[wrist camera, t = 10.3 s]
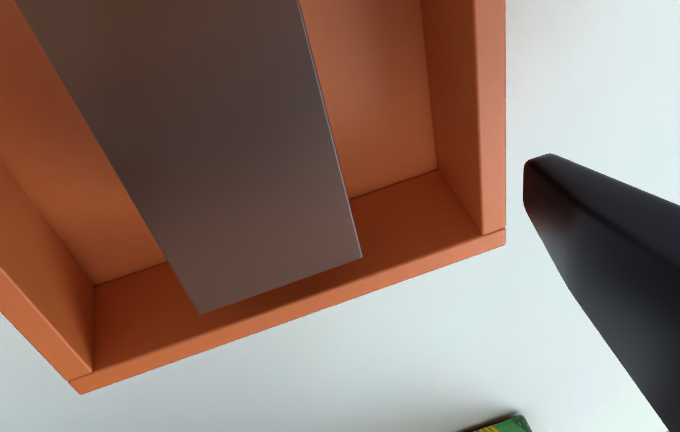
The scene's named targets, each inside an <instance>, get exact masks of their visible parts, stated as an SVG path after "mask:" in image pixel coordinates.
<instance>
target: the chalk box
mask: <svg viewBox="0 0 680 432" xmlns="http://www.w3.org/2000/svg"><path fill="white" fill-rule="evenodd" d="M473 432H532V431H531V429H530V427H529V425H528V423H527V421H526V419H525V418H524V416H523V415H518V416H516V417H513V418H511V419H508V420H506V421H503V422H500V423H497V424H494V425H491V426H488V427H485V428H482V429H479V430H476V431H473Z"/></svg>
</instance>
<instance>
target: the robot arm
mask: <svg viewBox="0 0 680 432" xmlns="http://www.w3.org/2000/svg"><path fill="white" fill-rule="evenodd" d="M523 203H524V207H525V210H526V212H527V214H528V216H529V218H530V220H531V221H532V223H533V225H534V227H535V229H536V231H537V232H538V234H539V236H540V238H541V240H542V242H543V243H544V245H545V247H546V249H547V251H548V253H549V254H550V256H551V258H552V260H553V262H554V264H555V265H556V267H557V269H558V271H559V273H560V275H561V276H562V278H563V280H564V282H565V283H566V285H567V287H568V289H569V290H570V292H571V293H572V295H573V296H574V298H575V299H576V301H577V302H578V303H579V305H580V306H581V308H582V309H583V310H584V312H585V313H586V315H587V316H588V317H589V319H590V320H591V322H592V323H593V324H594V326H595V327H596V329H597V330H598V331H599V333H600V334H601V336H602V337H603V339H604V340H605V341H606V343H607V344H608V346H609V347H610V348H611V350H612V351H613V353H614V354H615V355H616V357H617V358H618V360H619V361H620V362H621V364H622V365H623V367H624V368H625V369H626V371H627V372H628V374H629V375H630V376H631V378H632V379H633V381H634V382H635V384H636V385H637V386H638V388H639V389H640V391H641V392H642V393H643V395H644V396H645V398H646V399H647V400H648V402H649V403H650V405H651V406H652V407H653V409H654V410H655V412H656V413H657V414H658V416H659V417H660V419H661V420H662V422H663V423H664V424H665V426H666V427H667V429H668V430H669V431H670V432H680V206H679V205H677V204H674V203H672V202H670V201H667V200H665V199H662V198H660V197H657V196H655V195H652V194H650V193H648V192H645V191H643V190H640V189H638V188H635V187H633V186H630V185H628V184H626V183H623V182H621V181H618V180H616V179H613V178H611V177H608V176H606V175H604V174H601V173H599V172H596V171H594V170H591V169H589V168H586V167H584V166H582V165H579V164H577V163H574V162H572V161H569V160H567V159H565V158H562V157H560V156H557V155H554V154H545V155H542V156H539V157H536V158H533V159H530V160H528V161H527V162H526V163H525V165H524V174H523Z"/></svg>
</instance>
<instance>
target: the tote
mask: <svg viewBox="0 0 680 432" xmlns="http://www.w3.org/2000/svg"><path fill="white" fill-rule="evenodd" d="M299 2H300V6H301V10H302V14H303V18H304V22H305V26H306V30H307V34H308V38H309V42H310V46H311V50H312V54H313V58H314V62H315V66H316V70H317V74H318V78H319V82H320V86H321V90H322V94H323V98H324V102H325V106H326V110H327V114H328V118H329V122H330V126H331V130H332V134H333V138H334V142H335V146H336V150H337V154H338V158H339V162H340V166H341V170H342V174H343V178H344V182H345V186H346V190H347V194H348V198H349V202H350V206H351V210H352V214H353V218H354V222H355V226H356V231H357V235H358V239H359V243H360V247H361V251H362V255H363V257H362V258H360V259H357V260H354V261H352V262H349V263H346V264H343V265H340V266H337V267H334V268H332V269H329V270H326V271H323V272H320V273H317V274H314V275H312V276H309V277H306V278H303V279H300V280H297V281H294V282H292V283H289V284H286V285H283V286H280V287H277V288H275V289H272V290H269V291H266V292H263V293H260V294H257V295H255V296H252V297H249V298H246V299H243V300H240V301H237V302H235V303H232V304H229V305H226V306H223V307H220V308H217V309H215V310H212V311H209V312H206V313H203V314H198V312H197V310H196V309H195V307H194V305H193V304H192V302H191V300H190V298H189V297H188V295H187V293H186V292H185V290H184V288H183V287H182V285H181V283H180V281H179V280H178V278H177V276H176V275H175V273H174V271H173V270H172V268H171V266H170V264H169V263H168V261H167V259H166V258H165V256H164V254H163V253H162V251H161V249H160V247H159V246H158V244H157V242H156V241H155V239H154V237H153V236H152V234H151V232H150V230H149V229H148V227H147V225H146V224H145V222H144V220H143V219H142V217H141V215H140V213H139V212H138V210H137V208H136V207H135V205H134V203H133V202H132V200H131V198H130V196H129V195H128V193H127V191H126V190H125V188H124V186H123V185H122V183H121V181H120V179H119V178H118V176H117V174H116V173H115V171H114V169H113V168H112V166H111V164H110V162H109V161H108V159H107V157H106V156H105V154H104V152H103V151H102V149H101V147H100V145H99V144H98V142H97V140H96V139H95V137H94V135H93V134H92V132H91V130H90V128H89V127H88V125H87V123H86V122H85V120H84V118H83V116H82V115H81V113H80V111H79V110H78V108H77V106H76V105H75V103H74V101H73V99H72V98H71V96H70V94H69V93H68V91H67V89H66V88H65V86H64V84H63V82H62V81H61V79H60V77H59V76H58V74H57V72H56V71H55V69H54V67H53V65H52V64H51V62H50V60H49V59H48V57H47V55H46V54H45V52H44V50H43V48H42V47H41V45H40V43H39V42H38V40H37V38H36V37H35V35H34V33H33V31H32V30H31V28H30V26H29V25H28V23H27V21H26V20H25V18H24V16H23V14H22V13H21V11H20V9H19V8H18V6H17V4H16V3H15V1H14V0H0V312H1V313H2V314H3V315H4V316H5V317H6V318H7V319H8V320H9V321H10V322H11V323H12V324H13V326H14V327H15V328H16V329H17V330H18V331H19V332H20V333H21V334H22V335H23V336H24V337H25V338H26V339H27V340H28V341H29V342H30V343H31V344H32V345H33V346H34V348H35V349H36V350H37V351H38V352H39V353H40V354H41V355H42V356H43V357H44V358H45V359H46V360H47V361H48V362H49V363H50V364H51V365H52V366H53V367H54V368H55V369H56V371H57V372H58V373H59V374H60V375H61V376H62V377H63V378H64V379H65V380H67V381H68V382H69V384H70V385H71V386H72V387H73V388H74V389H75V390H76V391H77V392H78V393H79V394H85V393H88V392H91V391H93V390H96V389H99V388H102V387H105V386H108V385H110V384H113V383H116V382H119V381H122V380H124V379H127V378H130V377H133V376H136V375H139V374H141V373H144V372H147V371H150V370H153V369H156V368H158V367H161V366H164V365H167V364H170V363H173V362H175V361H178V360H181V359H184V358H187V357H190V356H192V355H195V354H198V353H201V352H204V351H206V350H209V349H212V348H215V347H218V346H221V345H223V344H226V343H229V342H232V341H235V340H238V339H240V338H243V337H246V336H249V335H252V334H255V333H257V332H260V331H263V330H266V329H269V328H271V327H274V326H277V325H280V324H283V323H286V322H288V321H291V320H294V319H297V318H300V317H303V316H305V315H308V314H311V313H314V312H317V311H320V310H322V309H325V308H328V307H331V306H334V305H337V304H339V303H342V302H345V301H348V300H351V299H353V298H356V297H359V296H362V295H365V294H368V293H370V292H373V291H376V290H379V289H382V288H385V287H387V286H390V285H393V284H396V283H399V282H402V281H404V280H407V279H410V278H413V277H416V276H418V275H421V274H424V273H427V272H430V271H433V270H435V269H438V268H441V267H444V266H447V265H450V264H452V263H455V262H458V261H461V260H464V259H467V258H469V257H472V256H475V255H478V254H481V253H483V252H486V251H489V250H492V249H495V248H498V247H500V246H503V245H505V243H506V229H505V226H506V48H505V0H299Z"/></svg>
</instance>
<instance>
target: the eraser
mask: <svg viewBox="0 0 680 432" xmlns="http://www.w3.org/2000/svg"><path fill="white" fill-rule="evenodd" d="M14 1H15V3H16V4H17V6H18V8H19V9H20V11H21V13H22V14H23V16H24V18H25V20H26V21H27V23H28V25H29V26H30V28H31V30H32V31H33V33H34V35H35V37H36V38H37V40H38V42H39V43H40V45H41V47H42V48H43V50H44V52H45V54H46V55H47V57H48V59H49V60H50V62H51V64H52V65H53V67H54V69H55V71H56V72H57V74H58V76H59V77H60V79H61V81H62V82H63V84H64V86H65V88H66V89H67V91H68V93H69V94H70V96H71V98H72V99H73V101H74V103H75V105H76V106H77V108H78V110H79V111H80V113H81V115H82V116H83V118H84V120H85V122H86V123H87V125H88V127H89V128H90V130H91V132H92V134H93V135H94V137H95V139H96V140H97V142H98V144H99V145H100V147H101V149H102V151H103V152H104V154H105V156H106V157H107V159H108V161H109V162H110V164H111V166H112V168H113V169H114V171H115V173H116V174H117V176H118V178H119V179H120V181H121V183H122V185H123V186H124V188H125V190H126V191H127V193H128V195H129V196H130V198H131V200H132V202H133V203H134V205H135V207H136V208H137V210H138V212H139V213H140V215H141V217H142V219H143V220H144V222H145V224H146V225H147V227H148V229H149V230H150V232H151V234H152V236H153V237H154V239H155V241H156V242H157V244H158V246H159V247H160V249H161V251H162V253H163V254H164V256H165V258H166V259H167V261H168V263H169V264H170V266H171V268H172V270H173V271H174V273H175V275H176V276H177V278H178V280H179V281H180V283H181V285H182V287H183V288H184V290H185V292H186V293H187V295H188V297H189V298H190V300H191V302H192V304H193V305H194V307H195V309H196V310H197V312H198V314H203V313H206V312H209V311H212V310H215V309H217V308H220V307H223V306H226V305H229V304H232V303H235V302H237V301H240V300H243V299H246V298H249V297H252V296H255V295H257V294H260V293H263V292H266V291H269V290H272V289H275V288H277V287H280V286H283V285H286V284H289V283H292V282H294V281H297V280H300V279H303V278H306V277H309V276H312V275H314V274H317V273H320V272H323V271H326V270H329V269H332V268H334V267H337V266H340V265H343V264H346V263H349V262H352V261H354V260H357V259H360V258H362V257H363V255H362V251H361V247H360V243H359V239H358V235H357V231H356V226H355V222H354V218H353V214H352V210H351V206H350V202H349V198H348V194H347V190H346V186H345V182H344V178H343V174H342V170H341V166H340V162H339V158H338V154H337V150H336V146H335V142H334V138H333V134H332V130H331V126H330V122H329V118H328V114H327V110H326V106H325V102H324V98H323V94H322V90H321V86H320V82H319V78H318V74H317V70H316V66H315V62H314V58H313V54H312V50H311V46H310V42H309V38H308V34H307V30H306V26H305V22H304V18H303V14H302V10H301V6H300V2H299V0H14Z"/></svg>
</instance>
